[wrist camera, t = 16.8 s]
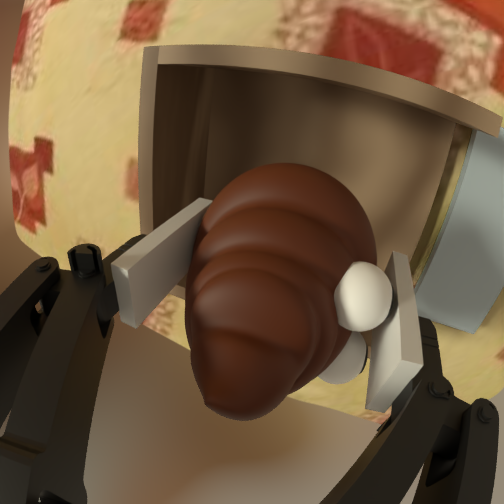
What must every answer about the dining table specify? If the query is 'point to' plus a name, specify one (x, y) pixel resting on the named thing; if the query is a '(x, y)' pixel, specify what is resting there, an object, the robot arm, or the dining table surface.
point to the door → (468, 243)
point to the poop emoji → (281, 289)
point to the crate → (295, 132)
